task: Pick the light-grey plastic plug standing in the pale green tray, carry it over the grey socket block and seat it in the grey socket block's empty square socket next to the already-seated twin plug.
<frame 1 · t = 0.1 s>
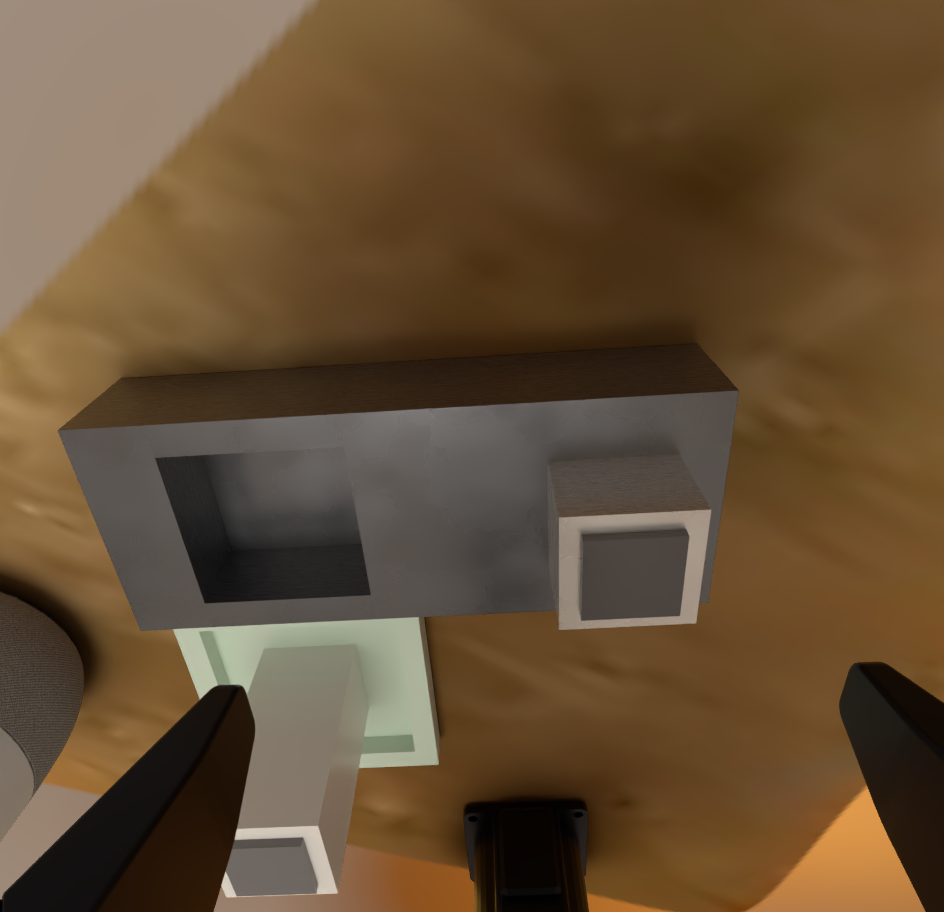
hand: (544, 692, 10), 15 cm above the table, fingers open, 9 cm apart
tray: (320, 668, 30), on the table
grey socket block: (416, 461, 25), on the table
smart speaker: (0, 639, 29), on the table
plug: (318, 679, 29), point 1 cm above the table, touching tray
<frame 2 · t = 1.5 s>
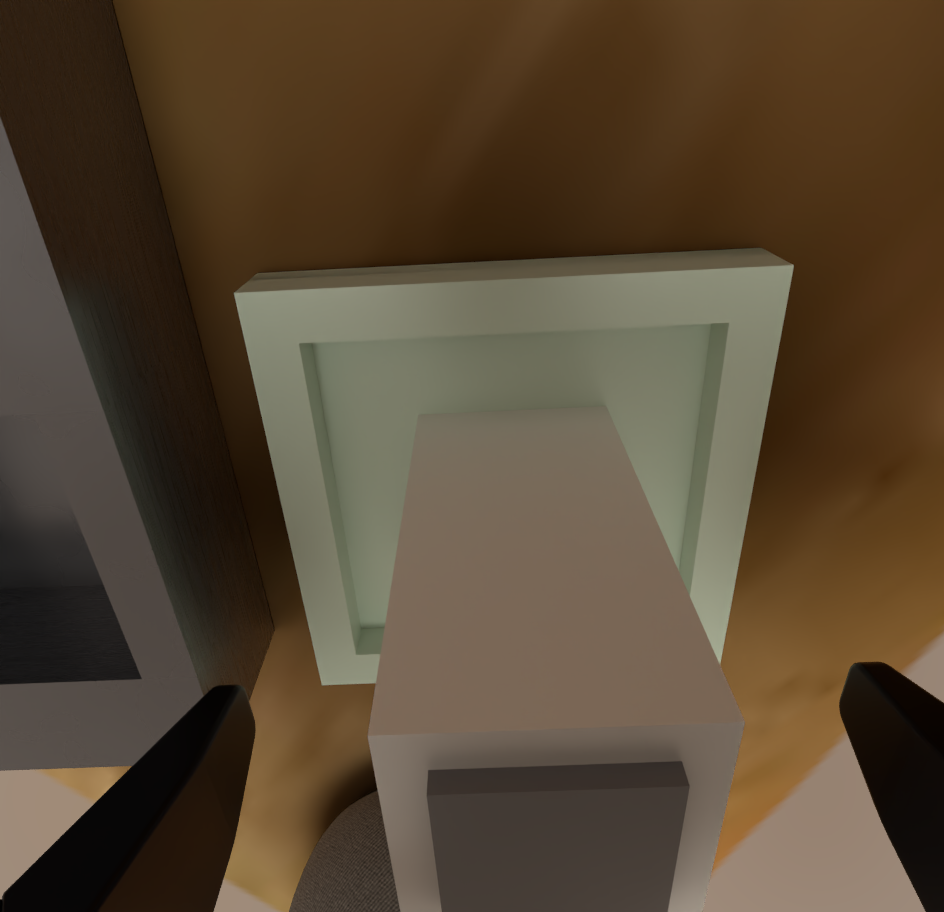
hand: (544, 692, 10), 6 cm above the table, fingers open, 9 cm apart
tray: (512, 476, 15), on the table
smart speaker: (446, 828, 23), on the table
plug: (513, 490, 15), point 1 cm above the table, touching tray
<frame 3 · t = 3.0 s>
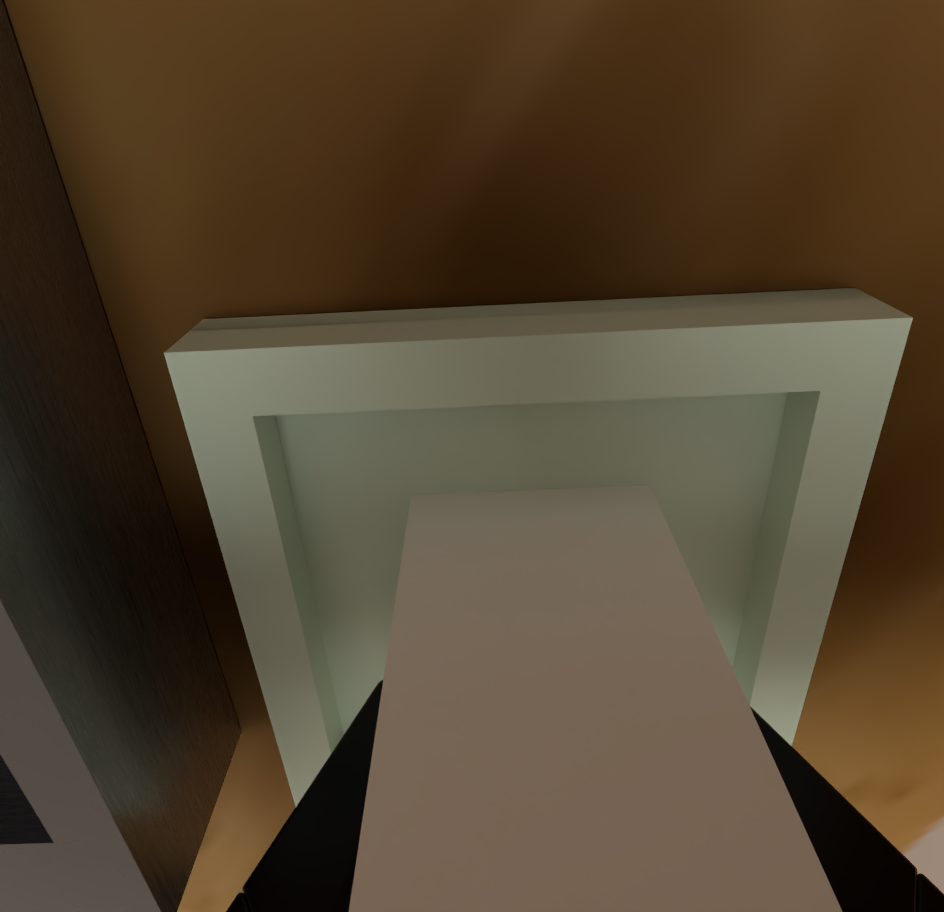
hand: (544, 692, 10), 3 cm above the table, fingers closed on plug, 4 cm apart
tray: (527, 562, 13), on the table
plug: (530, 583, 12), point 1 cm above the table, touching gripper, tray
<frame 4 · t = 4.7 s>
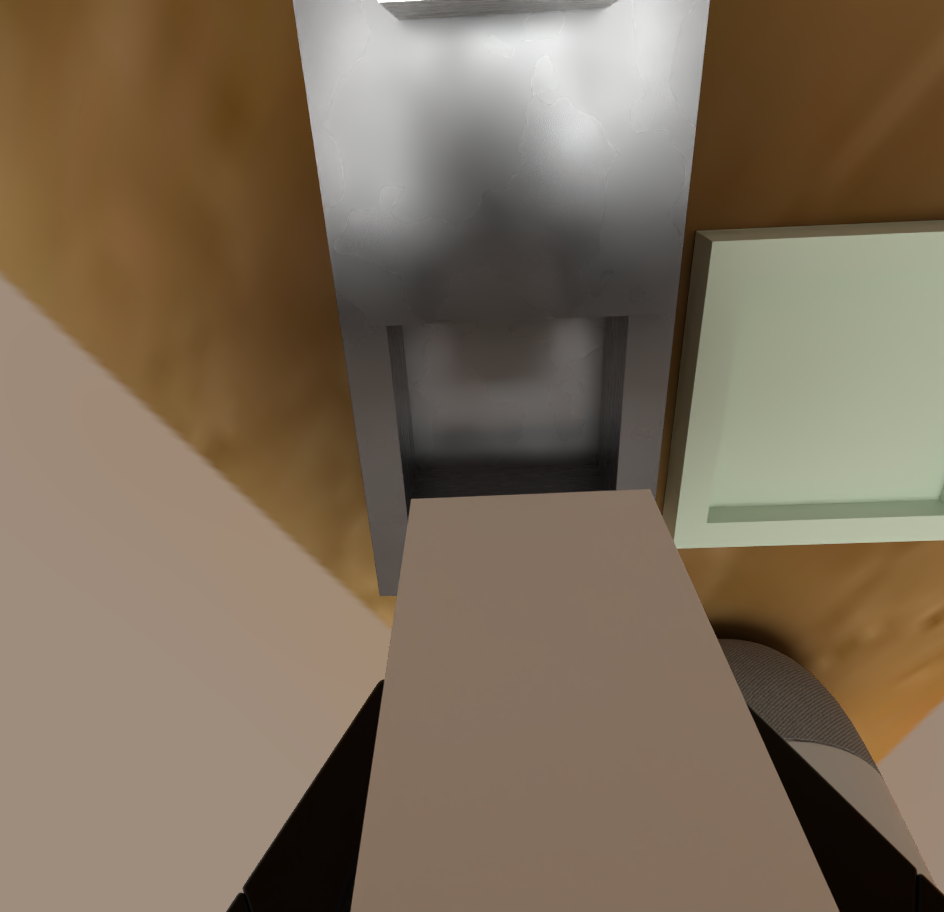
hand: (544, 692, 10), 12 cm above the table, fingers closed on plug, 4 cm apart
tray: (835, 387, 21), on the table
grey socket block: (500, 221, 18), on the table
smart speaker: (699, 692, 28), on the table
plug: (530, 586, 12), point 10 cm above the table, touching gripper
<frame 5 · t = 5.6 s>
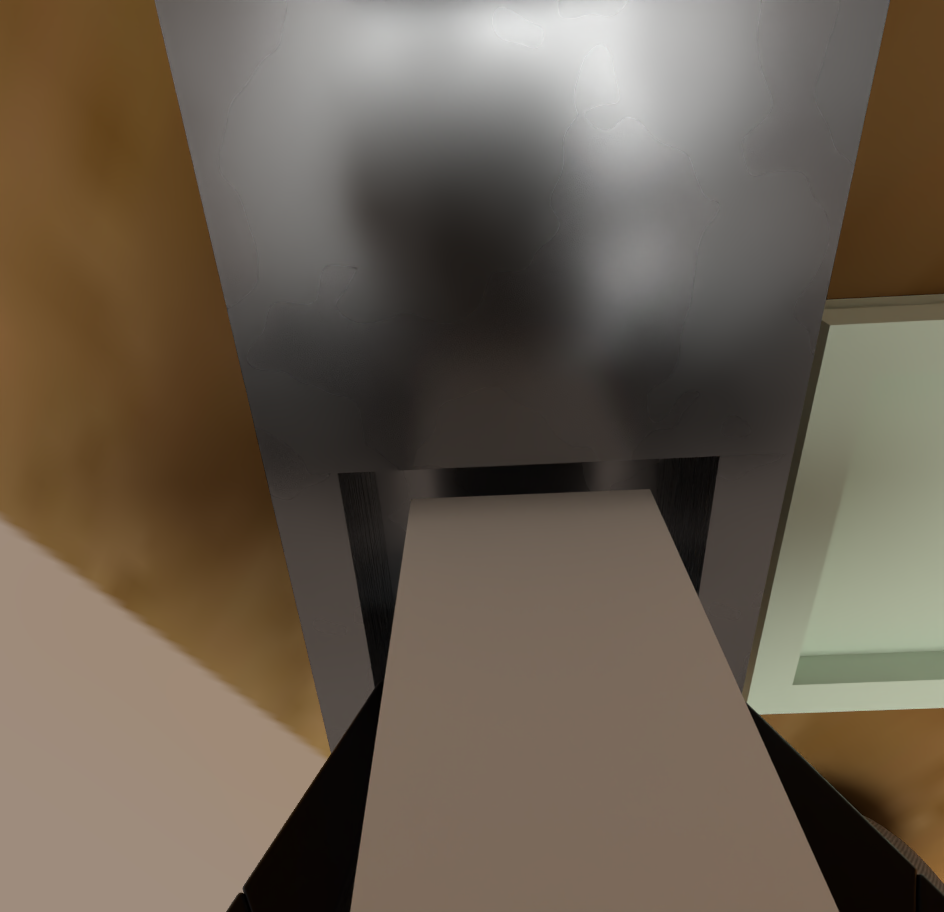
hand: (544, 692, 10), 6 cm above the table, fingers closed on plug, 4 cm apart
grey socket block: (510, 290, 13), on the table
smart speaker: (759, 851, 22), on the table
plug: (530, 586, 12), point 3 cm above the table, touching gripper
when the fingers open (5 cm above the table, at t = 6.4 s): plug drops 1 cm, resting on grey socket block.
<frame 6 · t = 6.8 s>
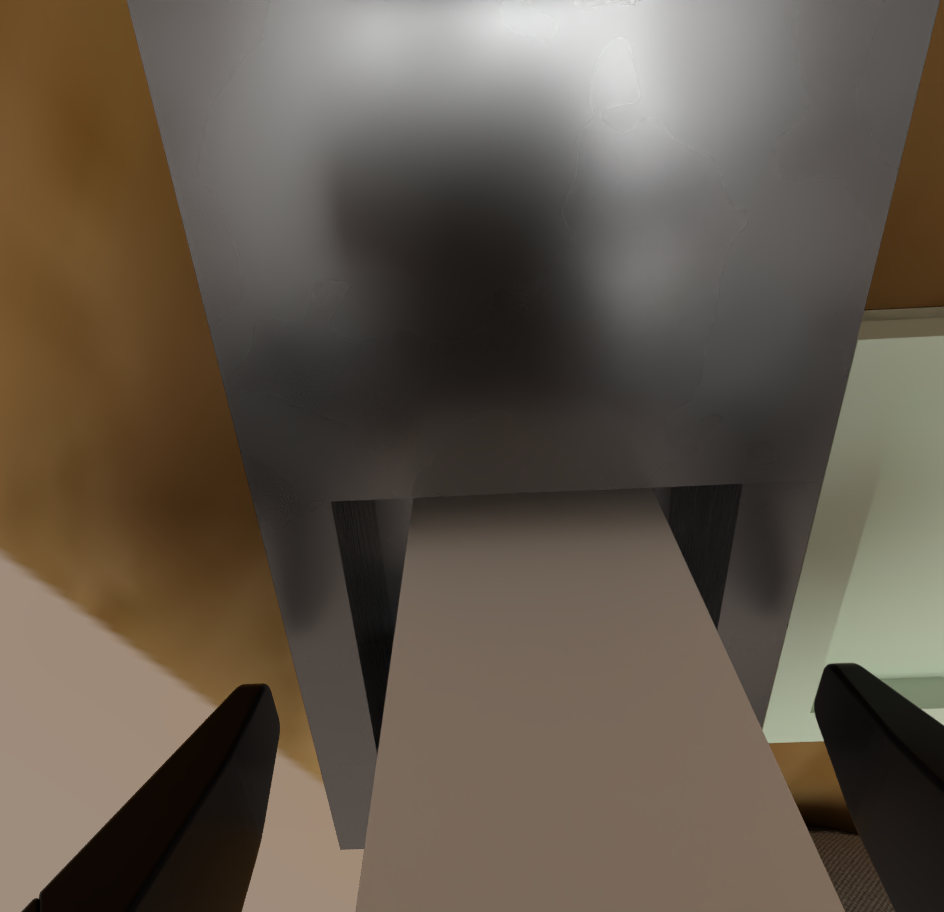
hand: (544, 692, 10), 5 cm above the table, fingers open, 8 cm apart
grey socket block: (516, 300, 12), on the table
smart speaker: (771, 876, 21), on the table
plug: (526, 537, 13), point 1 cm above the table, touching grey socket block
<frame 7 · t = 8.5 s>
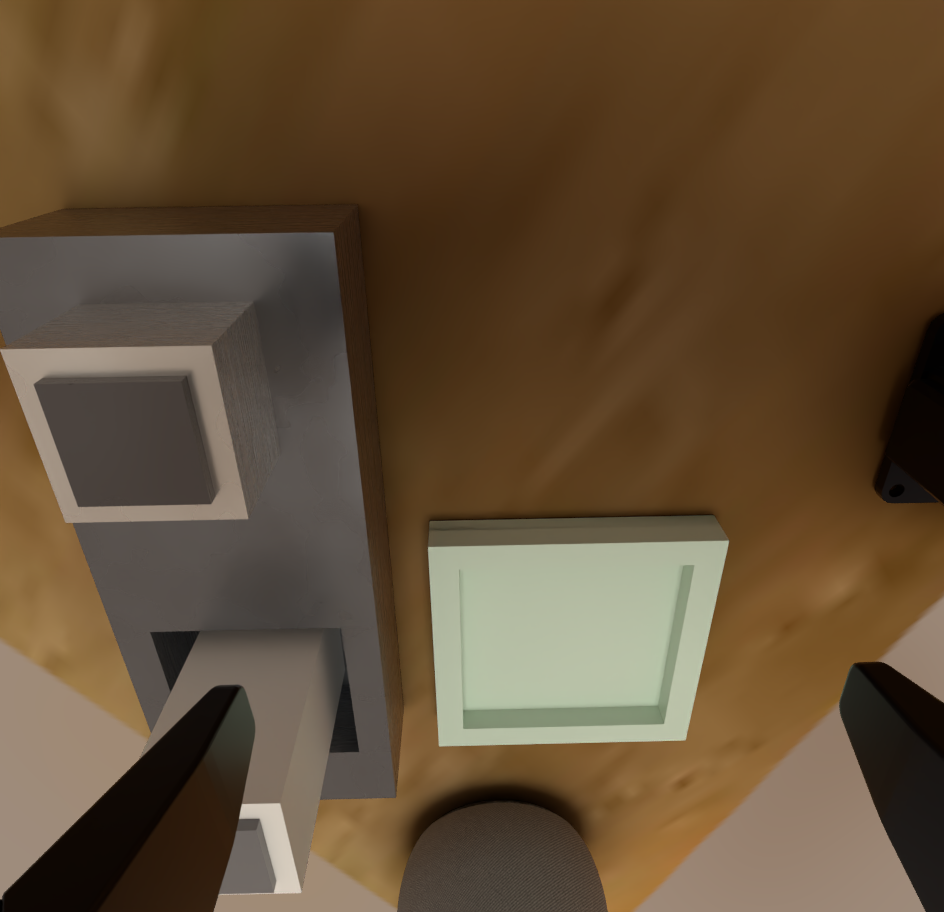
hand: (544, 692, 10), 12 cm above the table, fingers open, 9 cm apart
tray: (564, 624, 26), on the table
grey socket block: (269, 512, 23), on the table
smart speaker: (497, 834, 33), on the table
plug: (285, 631, 24), point 1 cm above the table, touching grey socket block
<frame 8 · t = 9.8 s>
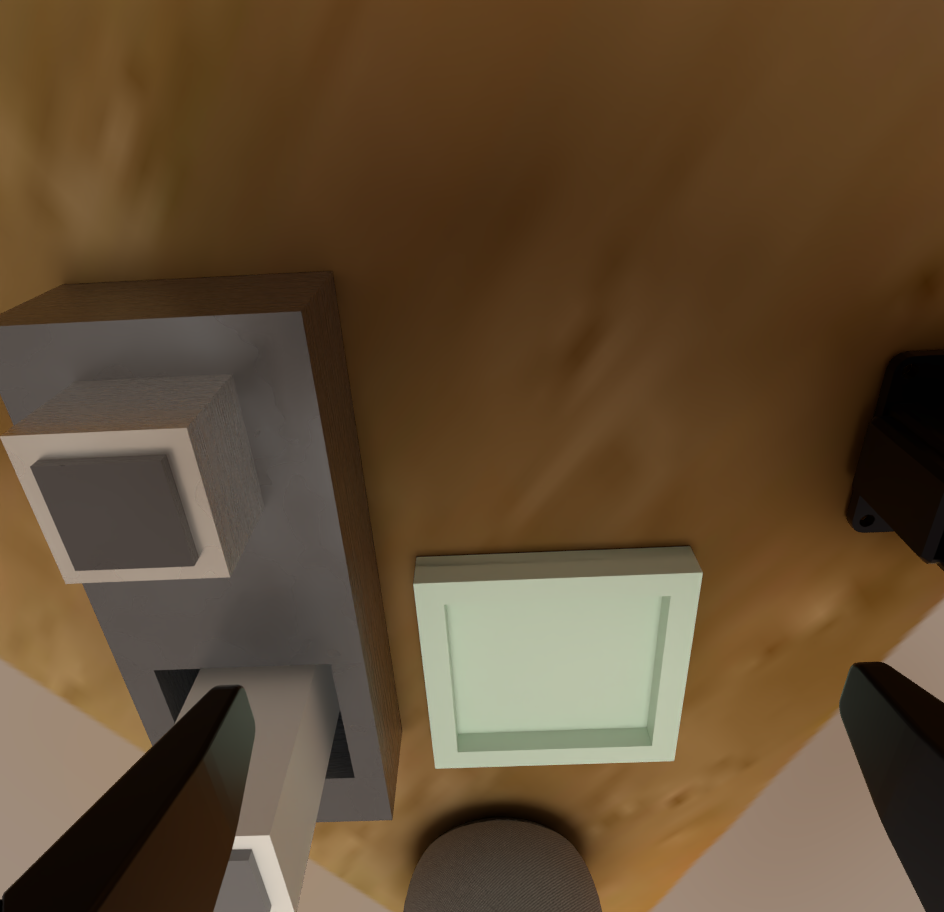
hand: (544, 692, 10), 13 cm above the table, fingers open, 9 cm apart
tray: (551, 651, 27), on the table
grey socket block: (265, 552, 24), on the table
smart speaker: (499, 849, 34), on the table
plug: (283, 662, 25), point 1 cm above the table, touching grey socket block
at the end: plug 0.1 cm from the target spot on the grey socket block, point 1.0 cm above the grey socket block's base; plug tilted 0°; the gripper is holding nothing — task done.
